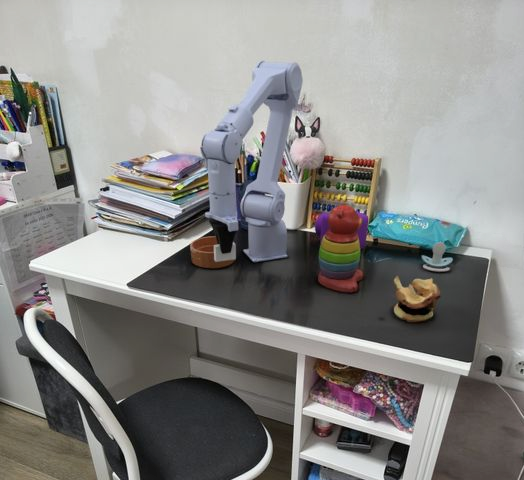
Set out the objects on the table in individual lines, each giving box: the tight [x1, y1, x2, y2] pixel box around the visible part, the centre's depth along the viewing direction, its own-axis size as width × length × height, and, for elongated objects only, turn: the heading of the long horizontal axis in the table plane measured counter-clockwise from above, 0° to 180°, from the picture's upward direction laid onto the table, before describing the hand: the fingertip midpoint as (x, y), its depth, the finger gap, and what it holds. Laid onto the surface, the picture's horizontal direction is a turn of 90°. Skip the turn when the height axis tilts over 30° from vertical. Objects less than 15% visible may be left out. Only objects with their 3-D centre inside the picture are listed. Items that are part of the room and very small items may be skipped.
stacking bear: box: [317, 202, 364, 294], centre depth 112 cm, size 11×10×18 cm
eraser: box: [214, 242, 237, 262], centre depth 114 cm, size 1×5×4 cm, turn 111°
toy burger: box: [393, 275, 442, 323], centre depth 101 cm, size 12×10×8 cm
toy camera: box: [314, 211, 369, 250], centre depth 131 cm, size 11×14×10 cm
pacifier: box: [421, 241, 454, 273], centre depth 121 cm, size 7×6×6 cm
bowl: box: [189, 235, 236, 269], centre depth 125 cm, size 11×11×4 cm
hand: (225, 251), depth 114 cm, fingers closed on eraser, 1 cm apart
